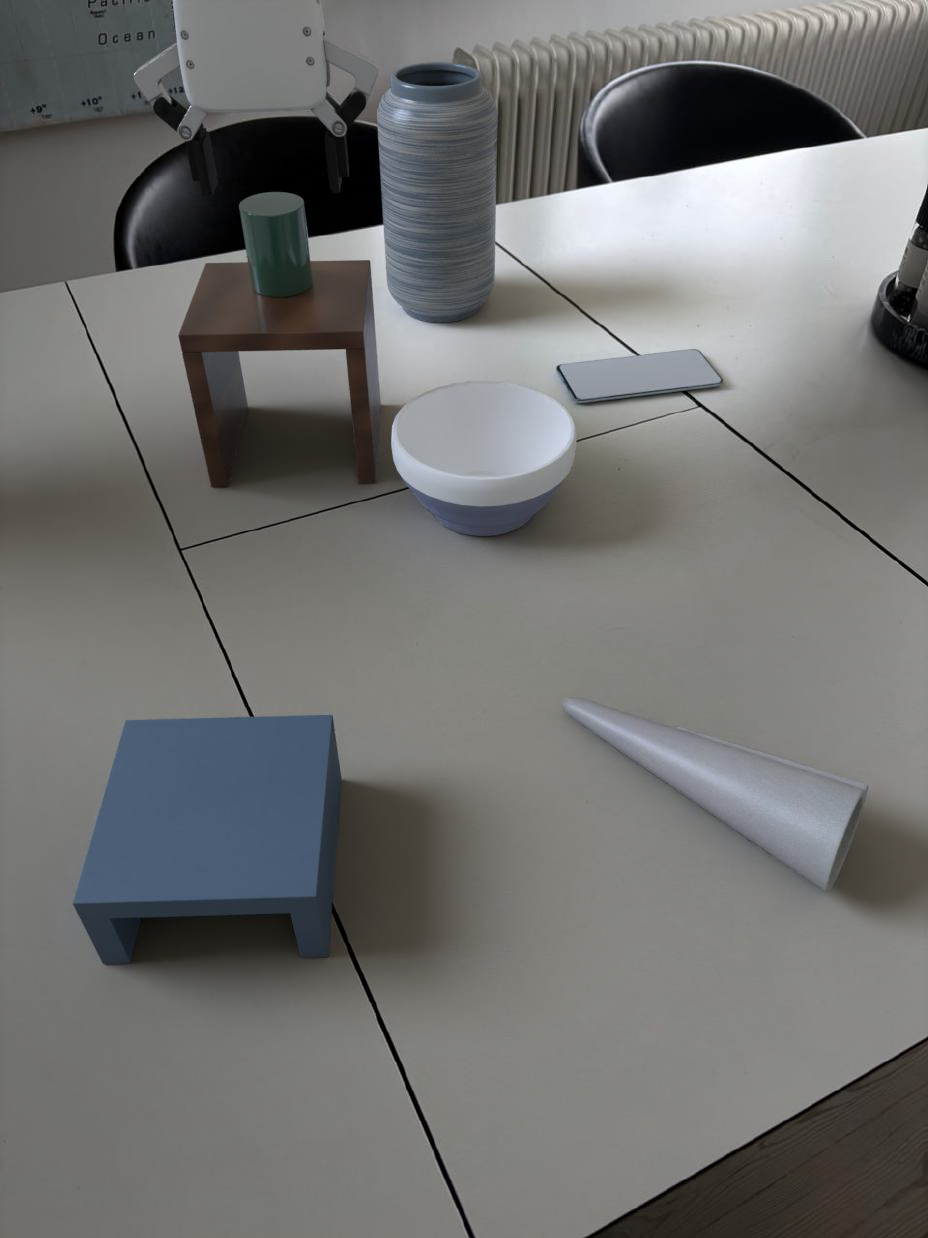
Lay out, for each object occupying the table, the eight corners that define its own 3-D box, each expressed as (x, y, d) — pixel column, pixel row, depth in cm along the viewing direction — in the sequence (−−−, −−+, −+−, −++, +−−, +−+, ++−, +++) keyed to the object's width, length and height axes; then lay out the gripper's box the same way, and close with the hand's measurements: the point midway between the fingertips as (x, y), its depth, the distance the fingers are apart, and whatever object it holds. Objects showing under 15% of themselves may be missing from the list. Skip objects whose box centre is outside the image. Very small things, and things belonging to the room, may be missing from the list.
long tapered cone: (520, 714, 61) (839, 840, 52) (571, 661, 65) (873, 768, 56) (520, 784, 64) (820, 914, 55) (568, 729, 68) (854, 841, 59)
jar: (247, 298, 80) (234, 216, 76) (255, 271, 84) (243, 191, 79) (310, 297, 80) (301, 215, 76) (315, 270, 84) (306, 190, 80)
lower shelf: (102, 964, 53) (71, 903, 49) (148, 784, 62) (125, 719, 58) (328, 957, 54) (316, 896, 50) (341, 778, 62) (332, 714, 58)
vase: (408, 337, 105) (397, 98, 89) (374, 291, 113) (359, 64, 97) (510, 318, 108) (517, 83, 92) (471, 275, 116) (471, 52, 100)
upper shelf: (210, 487, 85) (177, 334, 76) (232, 406, 95) (205, 262, 85) (375, 483, 86) (363, 331, 76) (380, 403, 95) (370, 259, 86)
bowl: (374, 476, 86) (367, 398, 81) (530, 443, 90) (533, 366, 85) (427, 579, 76) (424, 497, 71) (600, 537, 80) (609, 457, 75)
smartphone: (554, 364, 99) (697, 347, 101) (554, 369, 99) (697, 352, 102) (575, 400, 94) (725, 382, 96) (574, 405, 94) (724, 387, 97)
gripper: (369, -95, 68) (387, 167, 80) (114, -88, 68) (169, 174, 80) (365, -75, 63) (384, 203, 74) (87, -67, 62) (150, 210, 74)
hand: (273, 188), depth 77 cm, fingers open, 9 cm apart
